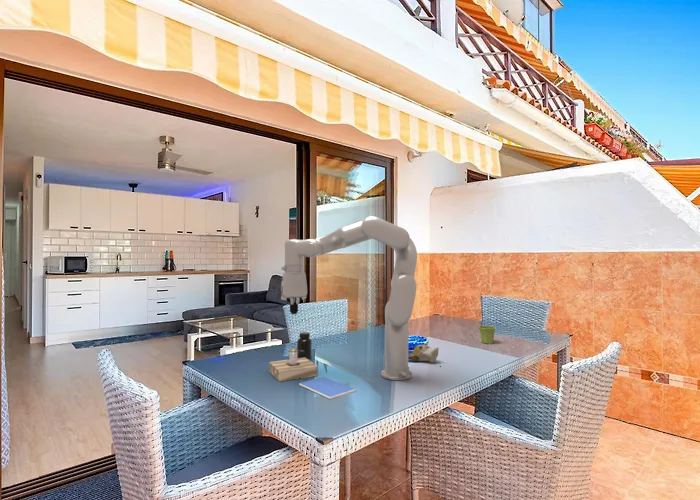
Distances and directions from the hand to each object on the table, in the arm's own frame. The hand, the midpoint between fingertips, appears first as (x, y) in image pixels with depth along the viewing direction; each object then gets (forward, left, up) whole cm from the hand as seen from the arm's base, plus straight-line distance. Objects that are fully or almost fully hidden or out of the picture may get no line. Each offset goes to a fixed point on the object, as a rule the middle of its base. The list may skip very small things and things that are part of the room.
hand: (293, 313), depth 159 cm
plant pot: (+4, -115, -25) cm, 118 cm away
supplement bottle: (+19, -12, -25) cm, 34 cm away
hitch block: (0, 0, -25) cm, 25 cm away
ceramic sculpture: (-9, -60, -25) cm, 66 cm away
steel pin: (0, 0, -25) cm, 25 cm away
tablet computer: (-21, -6, -26) cm, 34 cm away
